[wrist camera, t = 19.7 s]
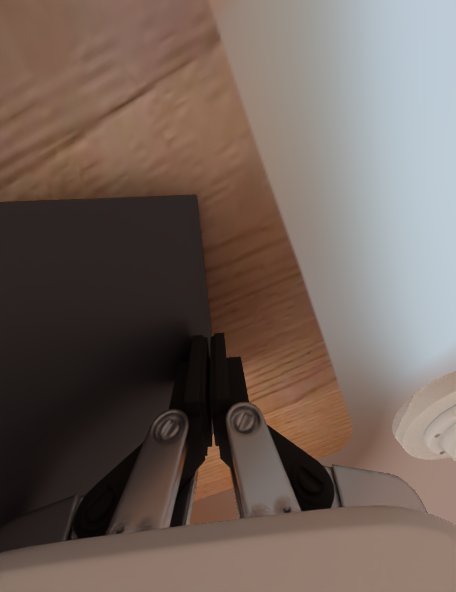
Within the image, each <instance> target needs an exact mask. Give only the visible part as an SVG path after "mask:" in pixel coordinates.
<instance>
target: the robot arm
mask: <svg viewBox="0 0 456 592" xmlns="http://www.w3.org/2000/svg"><path fill="white" fill-rule="evenodd" d="M212 422H213V430H214V437H215V445H216V446H219V450H220V458H221V459H222V460H223V461H224V462H225V463H226V464H227V465H228V466H229V467H230V473H231V478H232V483H233V488H234V493H235V498H236V503H237V508H238V514H239V519H235V520H226V521H219V522H210V523H202V524H194V525H189V523H190V517H191V510H192V505H193V500H194V494H195V488H196V482H197V476H198V468H199V467H200V466H201V464H202V463H203V462H204V461H205V456H207V450H208V447H211V446H212ZM423 441H424V443H425V445H426V446H427V447H428V448H429V449H430V451H431V452H433V453H434V454H437V455H440V456H451V457H452V458H453V460H454V461H455V462H456V405H454V406H453V407H451V408H449V409H447V410H446V411H444V412H443V413H441V414H440V415H439V416H438V417H436V418H435V419H434V420H433V421H432V422H431V423H430V424H429V426H428V427H427V429H426V430H425V433H424V437H423ZM0 592H456V525H455V524H453V523H451V522H449V521H447V520H444V519H442V518H439V517H437V516H434V515H432V514H429V513H428V512H427V511H426V508H425V507H424V504H423V502H422V501H421V499H420V498H419V496H418V495H417V493H416V492H415V490H414V489H413V488H412V487H410V486H409V485H408V483H407V482H405V481H404V480H402V479H401V478H399V477H398V476H395V475H391V474H389V473H383V472H376V471H370V470H364V469H358V468H352V467H345V466H339V465H332V467H328V466H322V465H321V464H320V463H319V462H318V461H317V460H315V459H314V458H313V457H311V456H310V455H308V454H307V453H306V452H304V451H303V450H302V449H300V448H299V447H297V446H296V445H295V444H293V443H292V442H290V441H289V440H288V439H286V438H285V437H284V436H282V435H281V434H279V433H278V432H277V431H275V430H274V429H272V428H271V427H270V426H268V425H267V424H266V422H265V419H264V417H263V414H262V413H261V411H260V409H259V408H258V407H257V406H255V405H254V404H252V403H249V399H248V394H247V388H246V383H245V378H244V372H243V367H242V361H241V357H229V358H226V348H225V338H224V333H217V334H214V336H213V337H210V355H209V346H208V338H207V337H204V336H203V335H193V338H192V345H191V352H190V359H189V361H185V362H179V363H178V367H177V371H176V376H175V381H174V386H173V391H172V396H171V401H170V405H169V410H166V411H164V412H162V413H161V414H159V415H158V416H157V417H156V418H155V419H154V421H153V422H152V424H151V426H150V428H149V431H148V433H147V435H146V438H145V440H144V442H143V443H142V444H141V445H139V446H138V447H137V448H136V449H135V450H134V451H133V452H132V453H130V454H129V455H128V456H127V457H126V458H125V459H124V460H123V461H121V462H120V463H119V464H118V465H117V466H116V467H115V468H114V469H113V470H111V471H110V472H109V473H108V474H107V475H106V476H105V477H104V478H102V479H101V480H100V481H99V482H98V483H97V484H96V485H95V486H94V487H93V488H92V489H91V490H90V491H89V492H88V493H87V494H84V495H80V494H79V493H78V494H76V495H73V496H70V497H68V498H65V499H62V500H60V501H57V502H54V503H51V504H49V505H46V506H43V507H41V508H38V509H35V510H33V511H30V512H27V513H25V514H22V515H19V516H17V517H14V518H12V519H10V520H8V521H7V522H5V523H3V524H2V525H1V526H0Z"/></svg>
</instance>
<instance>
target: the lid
mask: <svg viewBox="0 0 456 592" xmlns="http://www.w3.org/2000/svg"><path fill="white" fill-rule="evenodd" d="M193 335H203V336H204V337H207V338H208V346H209V355H210V337H212V329H211V319H210V310H209V301H208V292H207V283H206V274H205V265H204V256H203V247H202V238H201V229H200V219H199V210H198V201H197V195H175V196H149V197H122V198H96V199H70V200H43V201H17V202H0V526H1V525H2V524H3V523H5V522H7V521H8V520H10V519H12V518H14V517H17V516H19V515H22V514H25V513H27V512H30V511H33V510H35V509H38V508H41V507H43V506H46V505H49V504H51V503H54V502H57V501H60V500H62V499H65V498H68V497H70V496H73V495H76V494H78V493H79V494H80V495H84V494H87V493H88V492H89V491H90V490H91V489H92V488H93V487H94V486H95V485H96V484H97V483H98V482H99V481H100V480H101V479H102V478H104V477H105V476H106V475H107V474H108V473H109V472H110V471H111V470H113V469H114V468H115V467H116V466H117V465H118V464H119V463H120V462H121V461H123V460H124V459H125V458H126V457H127V456H128V455H129V454H130V453H132V452H133V451H134V450H135V449H136V448H137V447H138V446H139V445H141V444H142V443H143V442H144V440H145V438H146V435H147V433H148V431H149V428H150V426H151V424H152V422H153V421H154V419H155V418H156V417H157V416H158V415H159V414H161V413H162V412H164V411H166V410H169V405H170V401H171V396H172V391H173V386H174V381H175V376H176V371H177V367H178V363H179V362H185V361H189V359H190V352H191V345H192V338H193ZM213 433H214V430H213V422H212V435H213Z"/></svg>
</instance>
